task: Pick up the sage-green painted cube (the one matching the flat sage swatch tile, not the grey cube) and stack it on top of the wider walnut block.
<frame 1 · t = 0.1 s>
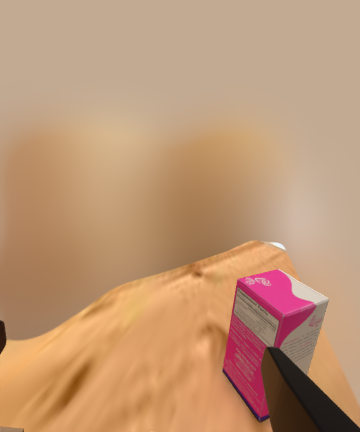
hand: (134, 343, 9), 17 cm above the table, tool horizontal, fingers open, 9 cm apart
supplement box: (258, 384, 26), on the table
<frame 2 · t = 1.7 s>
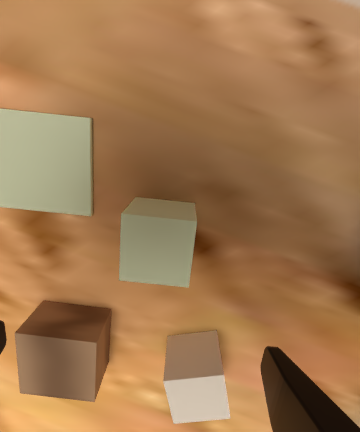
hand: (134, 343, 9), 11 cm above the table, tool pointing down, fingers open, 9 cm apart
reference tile: (44, 164, 18), on the table
walnut base: (78, 330, 23), on the table
sage block: (163, 227, 20), on the table
grey block: (195, 351, 23), on the table
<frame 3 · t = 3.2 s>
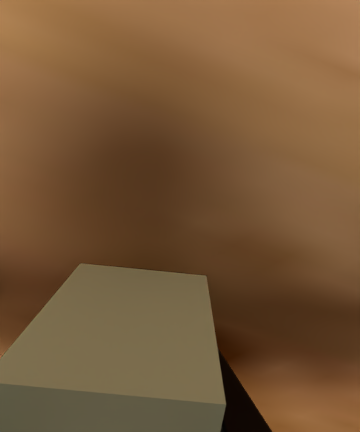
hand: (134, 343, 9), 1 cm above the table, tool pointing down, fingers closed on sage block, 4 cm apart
sage block: (140, 321, 10), on the table, touching gripper
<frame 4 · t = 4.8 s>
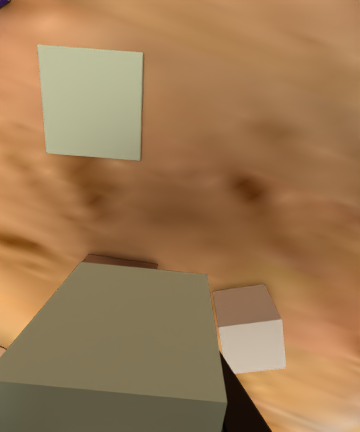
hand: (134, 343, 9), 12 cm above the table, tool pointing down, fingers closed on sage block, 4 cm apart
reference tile: (93, 106, 18), on the table
walnut base: (121, 287, 23), on the table
sage block: (140, 320, 10), point 11 cm above the table, touching gripper
grey block: (240, 308, 23), on the table
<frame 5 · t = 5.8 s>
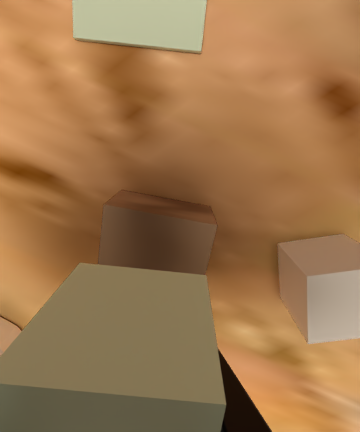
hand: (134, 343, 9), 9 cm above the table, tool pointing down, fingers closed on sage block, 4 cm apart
walnut base: (159, 238, 18), on the table
sage block: (140, 321, 9), point 8 cm above the table, touching gripper
grey block: (309, 266, 18), on the table
when the fingers open (6 cm above the table, at t = 6.6 s): sage block drops 2 cm, point 4 cm above the table.
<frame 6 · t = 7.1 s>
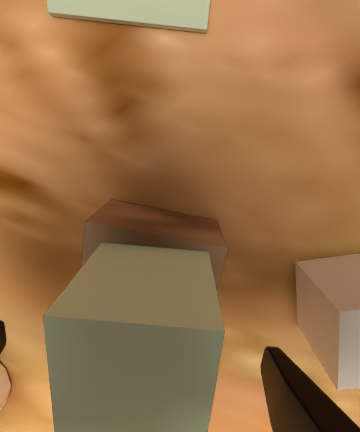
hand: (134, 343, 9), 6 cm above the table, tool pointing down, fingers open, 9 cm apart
walnut base: (156, 255, 15), on the table
sage block: (152, 293, 11), point 4 cm above the table
grey block: (333, 288, 15), on the table
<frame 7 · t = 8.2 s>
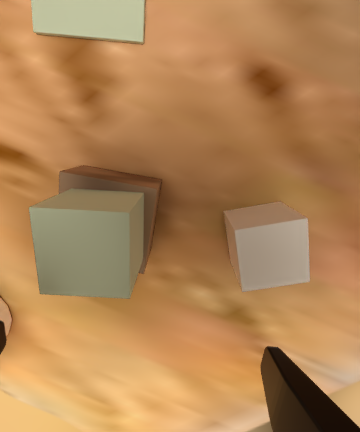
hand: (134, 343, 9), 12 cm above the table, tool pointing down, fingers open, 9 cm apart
walnut base: (119, 209, 20), on the table, touching sage block
sage block: (108, 224, 16), point 4 cm above the table, touching walnut base
grey block: (254, 232, 20), on the table
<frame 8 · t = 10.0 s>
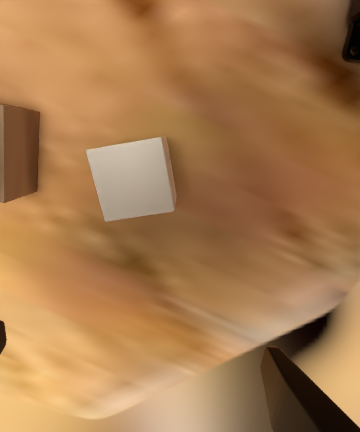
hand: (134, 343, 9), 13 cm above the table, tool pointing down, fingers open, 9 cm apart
walnut base: (0, 145, 19), on the table, touching sage block
grey block: (143, 172, 19), on the table
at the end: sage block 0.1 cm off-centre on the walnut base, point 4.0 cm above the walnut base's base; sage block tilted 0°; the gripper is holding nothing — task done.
